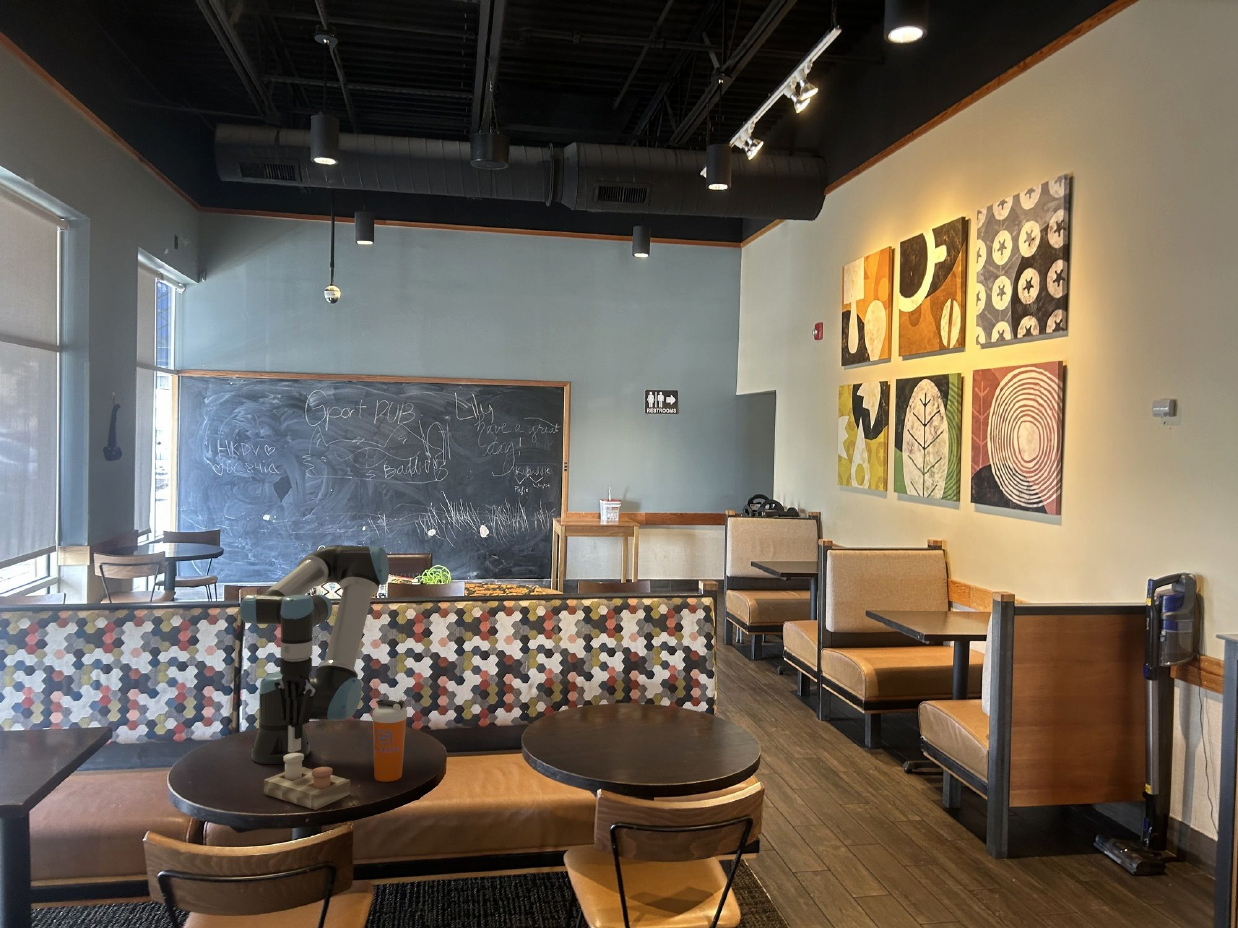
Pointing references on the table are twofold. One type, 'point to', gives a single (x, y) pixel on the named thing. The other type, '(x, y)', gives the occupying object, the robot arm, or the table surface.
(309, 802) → the socket board
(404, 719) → the shaker bottle
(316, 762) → the table surface
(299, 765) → the plug cream
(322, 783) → the plug rust
